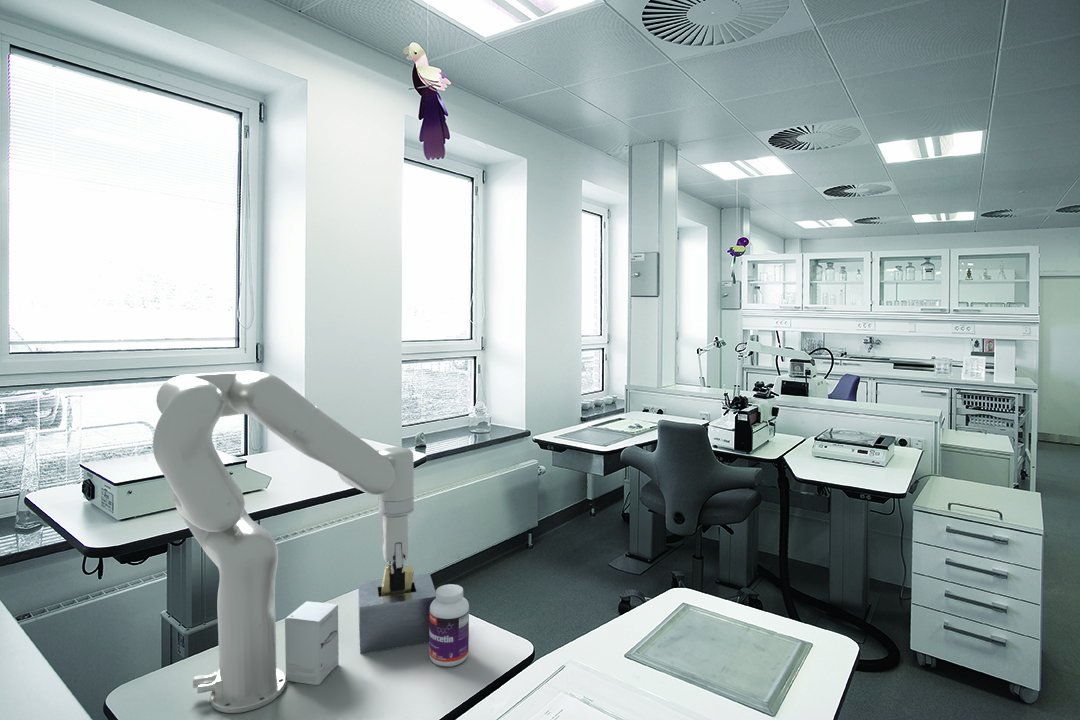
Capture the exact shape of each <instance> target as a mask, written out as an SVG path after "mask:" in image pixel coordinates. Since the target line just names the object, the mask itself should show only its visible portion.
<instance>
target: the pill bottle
mask: <svg viewBox="0 0 1080 720" xmlns="http://www.w3.org/2000/svg"><path fill="white" fill-rule="evenodd" d="M435 591H436V599H435V600H433V601H432V603H431V605H430V627H429V643H428V644H429V646H428V648H429V649H428V650H429V651H428V652H429V653H428V655H429V659H430V661H431V662H433V664H434V665H437V666H439V667H455V666H457V665H459V664H462V663H463V662H464V661H465V660H466V659H467V657H468V656H469V653H470V652H469V651H470V650H469V647H470V646H469V645H470V644H469V641H470V639H469V638H470V631H469V630H470V628H469V627H470V605H469V601H468V599H466V598H465V597H464V588H463V587H462V586H461V585H459V584H453V583H452V584H451V583H448V584H444V585H440V586H439V587H437V589H435Z"/></svg>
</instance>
